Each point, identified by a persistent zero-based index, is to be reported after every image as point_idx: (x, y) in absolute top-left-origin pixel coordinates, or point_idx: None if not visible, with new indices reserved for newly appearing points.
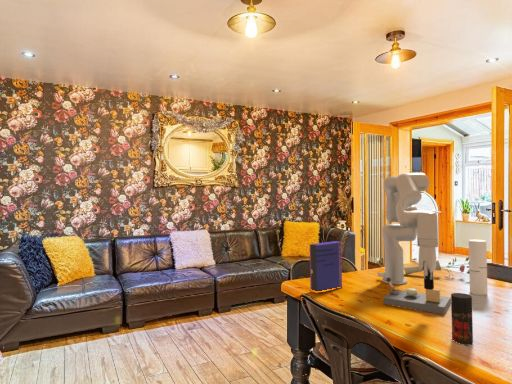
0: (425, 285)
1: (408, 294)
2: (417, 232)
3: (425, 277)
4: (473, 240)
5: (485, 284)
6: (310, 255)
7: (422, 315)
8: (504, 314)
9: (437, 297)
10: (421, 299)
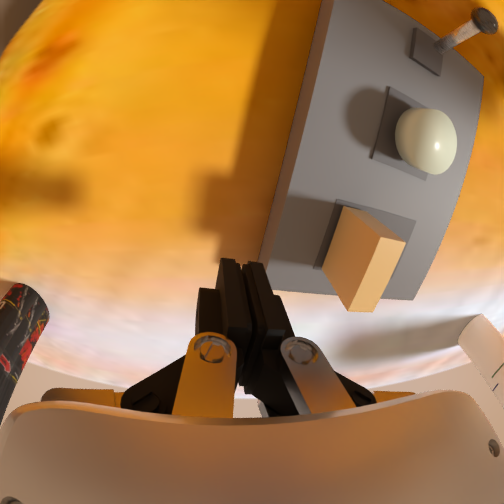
0: (220, 284)
1: (403, 115)
2: None
3: (164, 368)
4: None
5: (471, 360)
6: None
7: (205, 174)
8: None
9: (334, 276)
10: (373, 181)
